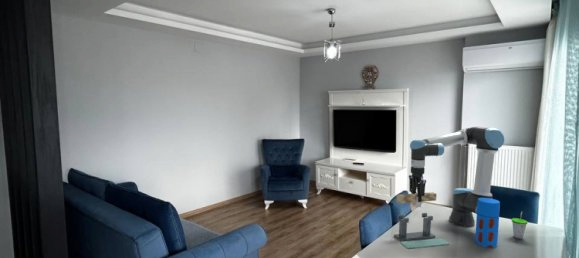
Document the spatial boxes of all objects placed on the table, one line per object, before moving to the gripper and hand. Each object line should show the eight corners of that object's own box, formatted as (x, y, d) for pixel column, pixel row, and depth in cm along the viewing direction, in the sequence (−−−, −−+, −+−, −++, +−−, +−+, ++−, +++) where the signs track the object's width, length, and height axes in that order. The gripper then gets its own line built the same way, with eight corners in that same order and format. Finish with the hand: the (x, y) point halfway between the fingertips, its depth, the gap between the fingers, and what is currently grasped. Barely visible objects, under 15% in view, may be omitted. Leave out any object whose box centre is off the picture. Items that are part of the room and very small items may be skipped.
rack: (427, 233, 195) (428, 212, 194) (435, 237, 188) (436, 216, 187) (393, 236, 190) (394, 215, 189) (400, 241, 183) (401, 219, 182)
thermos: (500, 248, 175) (503, 204, 173) (479, 246, 177) (482, 202, 175) (492, 240, 186) (495, 198, 184) (472, 238, 188) (474, 197, 186)
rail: (432, 198, 192) (432, 192, 191) (436, 200, 188) (436, 193, 188) (396, 201, 186) (396, 194, 186) (399, 203, 183) (400, 196, 183)
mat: (440, 239, 186) (440, 238, 186) (448, 244, 180) (449, 243, 179) (400, 243, 180) (400, 242, 180) (407, 248, 174) (407, 247, 174)
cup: (518, 240, 186) (519, 215, 185) (507, 234, 194) (508, 210, 192) (529, 239, 187) (531, 214, 186) (518, 234, 195) (520, 210, 194)
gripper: (403, 164, 193) (402, 202, 195) (420, 169, 177) (419, 211, 179) (414, 163, 195) (413, 201, 197) (432, 169, 178) (431, 210, 180)
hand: (416, 205), depth 188 cm, fingers closed on rail, 3 cm apart
